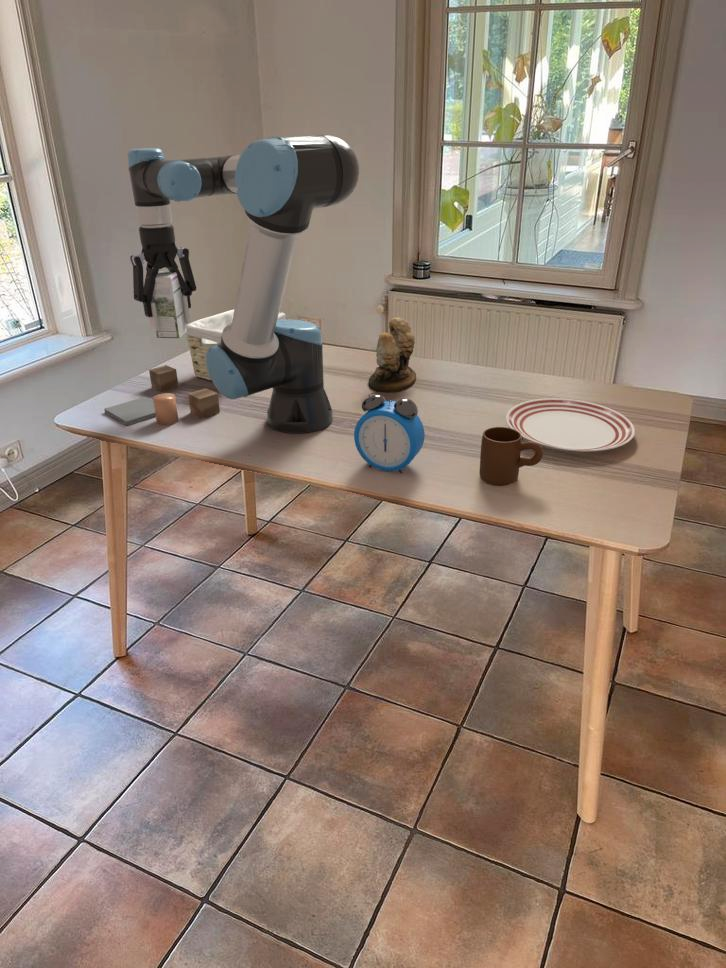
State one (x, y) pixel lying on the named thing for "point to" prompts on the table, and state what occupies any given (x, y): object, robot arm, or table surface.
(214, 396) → the walnut block
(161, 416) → the terracotta cylinder
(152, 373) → the dark oak block
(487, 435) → the mug
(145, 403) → the slate tile
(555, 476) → the table surface
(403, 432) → the alarm clock
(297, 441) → the table surface
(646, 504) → the table surface
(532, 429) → the dinner plate
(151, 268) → the robot arm
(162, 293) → the syrup box
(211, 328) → the storage basket
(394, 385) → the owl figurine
